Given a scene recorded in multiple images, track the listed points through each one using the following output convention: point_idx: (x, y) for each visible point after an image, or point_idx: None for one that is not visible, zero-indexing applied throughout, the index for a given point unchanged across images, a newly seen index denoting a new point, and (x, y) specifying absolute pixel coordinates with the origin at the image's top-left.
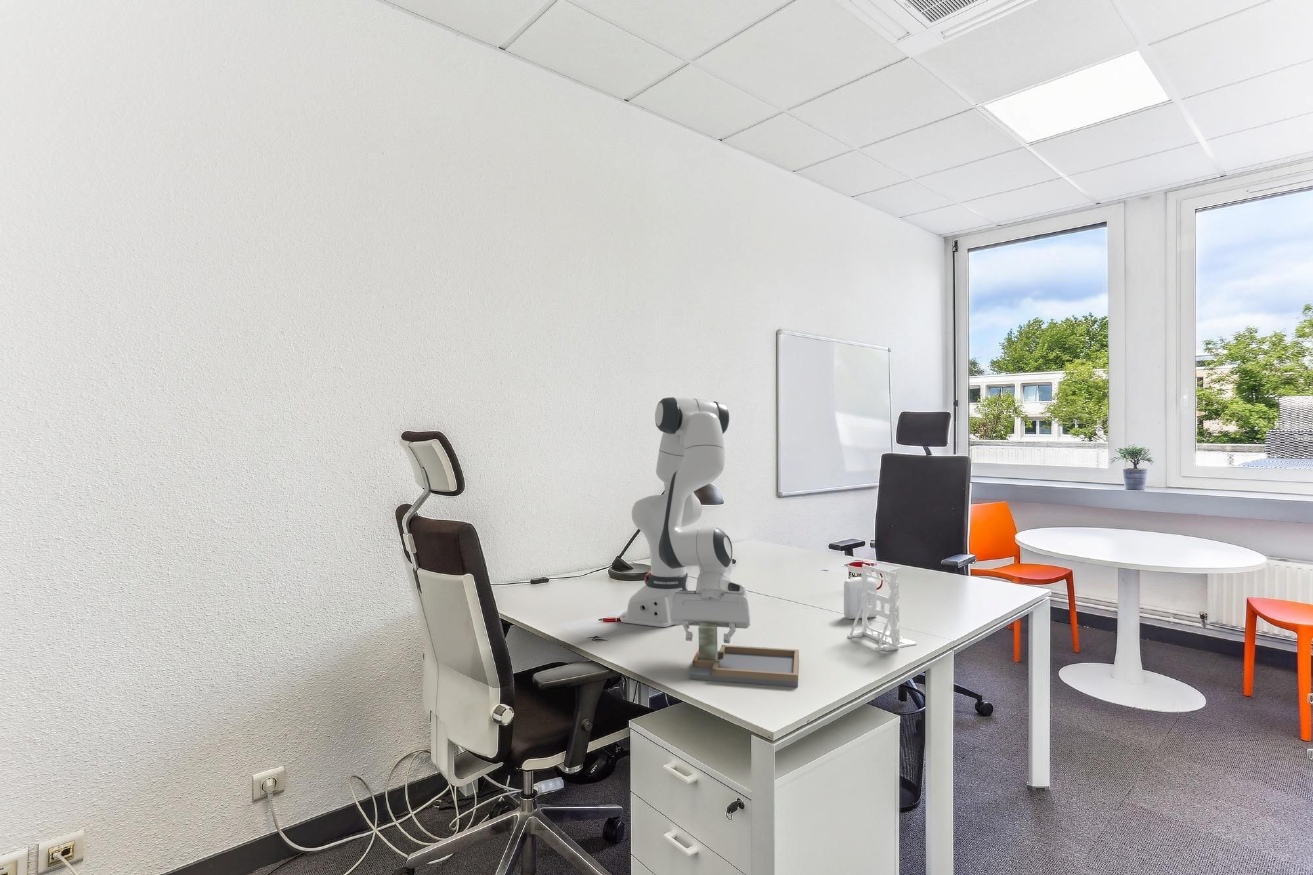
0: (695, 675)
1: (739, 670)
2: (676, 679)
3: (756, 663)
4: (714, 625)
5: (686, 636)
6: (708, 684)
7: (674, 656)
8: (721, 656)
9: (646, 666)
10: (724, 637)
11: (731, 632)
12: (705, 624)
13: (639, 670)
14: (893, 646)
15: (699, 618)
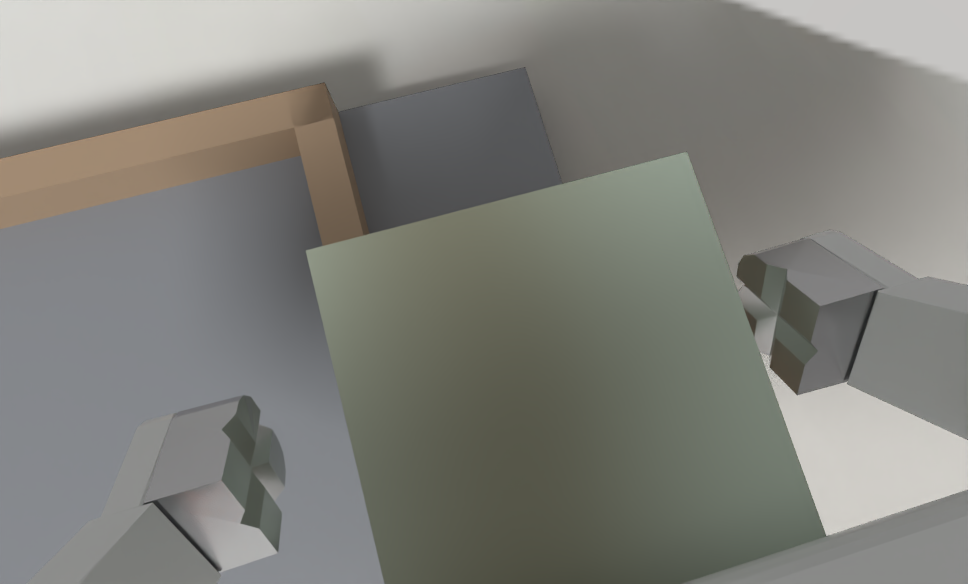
0: (474, 85)
1: (69, 151)
2: (599, 45)
3: (41, 562)
4: (401, 477)
5: (829, 238)
6: (347, 60)
7: (881, 481)
8: None
9: (936, 169)
10: (220, 425)
11: (61, 568)
12: (649, 445)
13: (928, 79)
14: None
15: (955, 526)
